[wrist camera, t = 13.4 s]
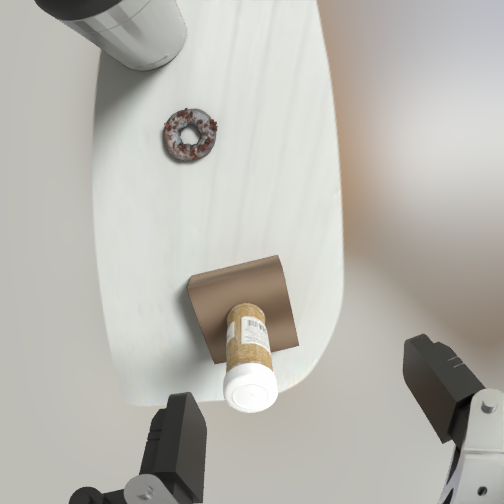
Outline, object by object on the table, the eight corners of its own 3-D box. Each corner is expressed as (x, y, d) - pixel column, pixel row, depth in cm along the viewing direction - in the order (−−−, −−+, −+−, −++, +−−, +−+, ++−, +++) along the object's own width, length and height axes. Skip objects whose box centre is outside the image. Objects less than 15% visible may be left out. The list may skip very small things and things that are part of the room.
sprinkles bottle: (219, 316, 37) (211, 393, 24) (249, 294, 36) (255, 367, 23) (243, 341, 38) (246, 421, 25) (273, 321, 37) (289, 398, 24)
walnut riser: (191, 275, 39) (186, 288, 36) (277, 254, 39) (281, 265, 35) (216, 347, 43) (214, 364, 39) (294, 329, 42) (299, 345, 38)
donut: (213, 175, 37) (211, 176, 35) (151, 161, 36) (146, 162, 34) (231, 107, 34) (230, 105, 32) (167, 95, 33) (163, 92, 31)
